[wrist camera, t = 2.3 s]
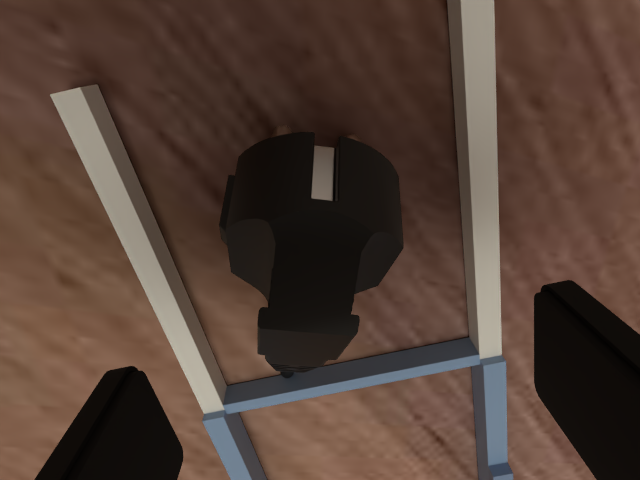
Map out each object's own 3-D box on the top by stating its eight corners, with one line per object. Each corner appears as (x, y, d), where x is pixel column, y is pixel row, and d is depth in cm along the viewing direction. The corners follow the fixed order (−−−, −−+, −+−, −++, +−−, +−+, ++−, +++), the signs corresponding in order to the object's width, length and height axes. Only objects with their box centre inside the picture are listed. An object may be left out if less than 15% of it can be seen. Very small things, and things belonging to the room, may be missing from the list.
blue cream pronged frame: (69, 91, 14) (30, 97, 12) (477, -8, 13) (510, -18, 11) (289, 569, 27) (289, 610, 25) (497, 532, 26) (513, 571, 24)
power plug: (225, 385, 19) (186, 288, 8) (246, 243, 22) (237, 53, 12) (344, 392, 19) (446, 310, 9) (345, 253, 23) (418, 80, 13)
